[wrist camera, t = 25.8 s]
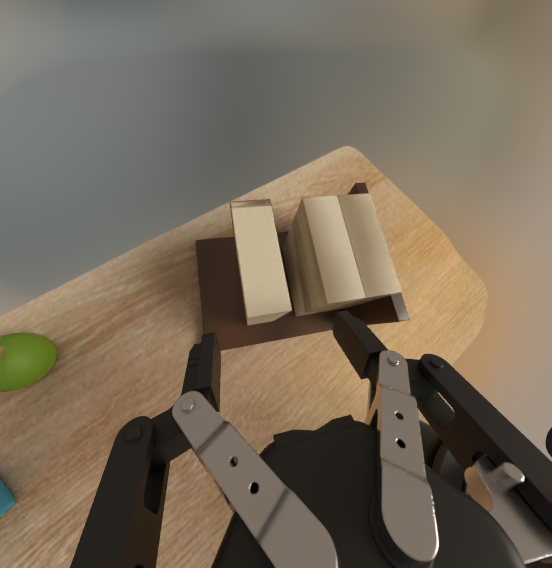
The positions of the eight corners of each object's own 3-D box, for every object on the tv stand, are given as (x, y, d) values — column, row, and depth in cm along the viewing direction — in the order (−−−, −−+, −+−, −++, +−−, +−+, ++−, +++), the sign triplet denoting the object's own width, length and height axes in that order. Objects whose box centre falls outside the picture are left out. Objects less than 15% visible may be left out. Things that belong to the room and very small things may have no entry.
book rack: (328, 231, 32) (373, 171, 20) (352, 325, 28) (423, 318, 17) (197, 243, 28) (163, 179, 17) (207, 352, 25) (172, 366, 13)
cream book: (261, 249, 28) (270, 198, 18) (274, 320, 26) (292, 310, 16) (236, 252, 28) (229, 201, 17) (246, 325, 25) (246, 318, 15)
